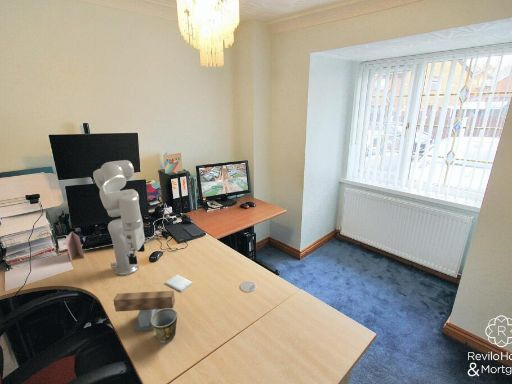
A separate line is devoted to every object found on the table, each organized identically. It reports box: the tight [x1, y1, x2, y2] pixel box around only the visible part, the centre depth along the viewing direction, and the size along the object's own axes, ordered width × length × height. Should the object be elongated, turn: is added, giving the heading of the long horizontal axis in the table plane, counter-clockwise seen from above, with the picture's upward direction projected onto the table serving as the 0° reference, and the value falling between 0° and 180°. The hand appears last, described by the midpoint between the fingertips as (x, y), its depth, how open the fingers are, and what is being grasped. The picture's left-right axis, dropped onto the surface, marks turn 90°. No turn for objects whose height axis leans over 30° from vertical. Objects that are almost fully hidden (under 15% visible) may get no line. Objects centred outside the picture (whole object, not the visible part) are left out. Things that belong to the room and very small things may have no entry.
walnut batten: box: [112, 290, 176, 312], centre depth 114 cm, size 24×4×6 cm, turn 94°
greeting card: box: [65, 231, 85, 262], centre depth 164 cm, size 11×7×15 cm, turn 17°
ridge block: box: [133, 309, 161, 332], centre depth 116 cm, size 8×12×7 cm, turn 4°
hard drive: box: [165, 274, 194, 293], centre depth 141 cm, size 2×8×12 cm
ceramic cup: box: [151, 308, 178, 344], centre depth 106 cm, size 13×10×10 cm
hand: (137, 257), depth 118 cm, fingers open, 9 cm apart
